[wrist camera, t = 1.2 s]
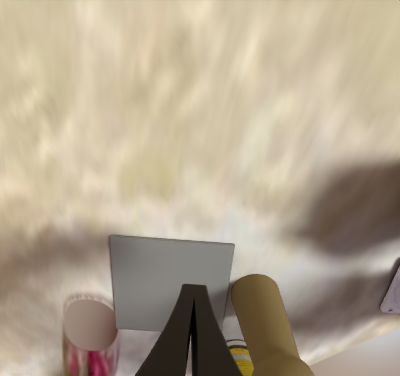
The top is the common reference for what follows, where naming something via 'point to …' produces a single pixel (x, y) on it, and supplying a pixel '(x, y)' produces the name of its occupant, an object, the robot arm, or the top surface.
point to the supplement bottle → (241, 357)
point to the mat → (165, 277)
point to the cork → (266, 328)
